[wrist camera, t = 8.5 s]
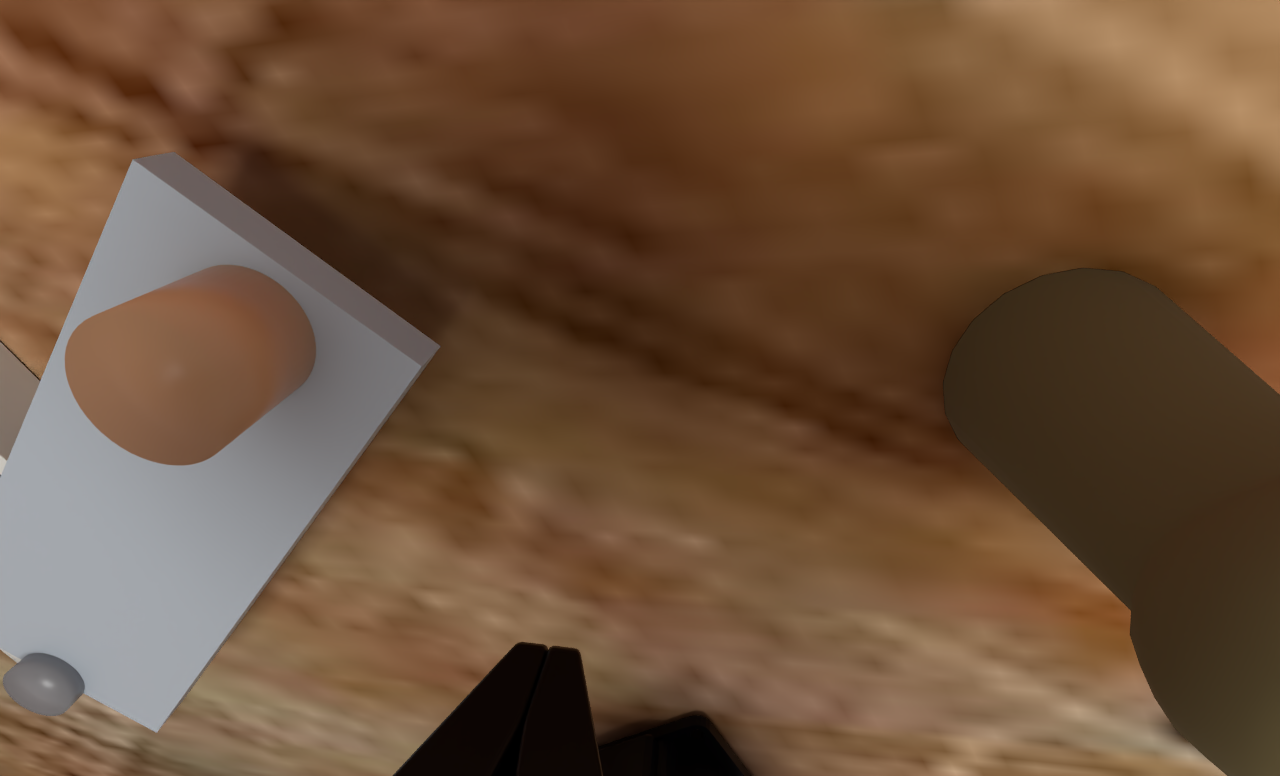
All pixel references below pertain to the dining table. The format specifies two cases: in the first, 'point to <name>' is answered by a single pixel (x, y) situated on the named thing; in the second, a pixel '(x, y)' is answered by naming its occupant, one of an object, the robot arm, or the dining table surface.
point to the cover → (181, 442)
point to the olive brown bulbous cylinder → (1144, 484)
